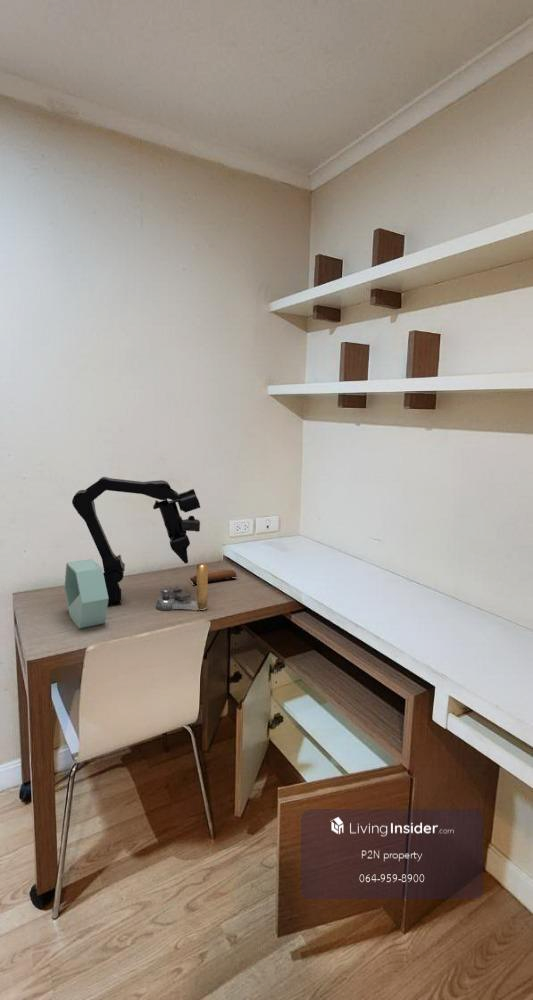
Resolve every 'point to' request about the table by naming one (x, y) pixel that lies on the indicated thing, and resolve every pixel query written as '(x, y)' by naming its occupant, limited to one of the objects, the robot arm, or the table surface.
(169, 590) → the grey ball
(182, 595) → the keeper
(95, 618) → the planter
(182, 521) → the robot arm
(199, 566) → the link
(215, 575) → the sunglasses case
